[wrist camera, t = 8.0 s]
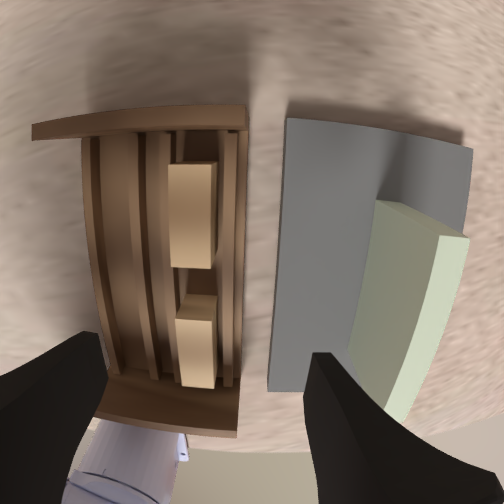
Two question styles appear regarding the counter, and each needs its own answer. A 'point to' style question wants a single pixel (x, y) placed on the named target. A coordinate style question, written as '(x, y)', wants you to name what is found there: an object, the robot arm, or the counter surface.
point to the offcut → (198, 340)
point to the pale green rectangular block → (404, 303)
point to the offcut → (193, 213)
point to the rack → (160, 257)
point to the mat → (345, 228)
